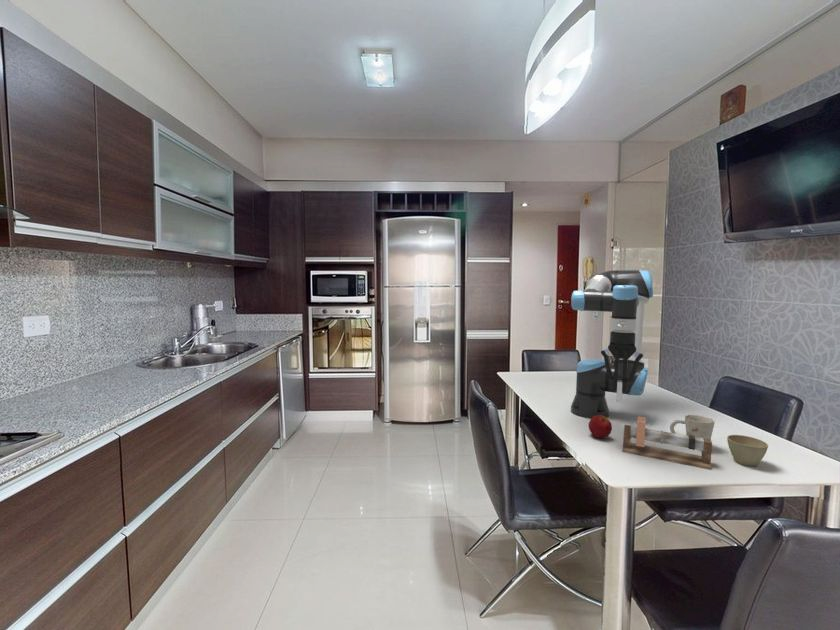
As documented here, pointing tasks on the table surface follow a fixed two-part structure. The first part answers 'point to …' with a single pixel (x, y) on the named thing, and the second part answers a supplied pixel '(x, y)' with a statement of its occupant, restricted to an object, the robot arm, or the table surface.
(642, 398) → the table surface
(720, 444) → the table surface
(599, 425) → the apple
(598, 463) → the table surface
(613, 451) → the table surface
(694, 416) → the mug
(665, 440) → the pipe stand
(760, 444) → the beige bowl
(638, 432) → the salmon pink flat block
